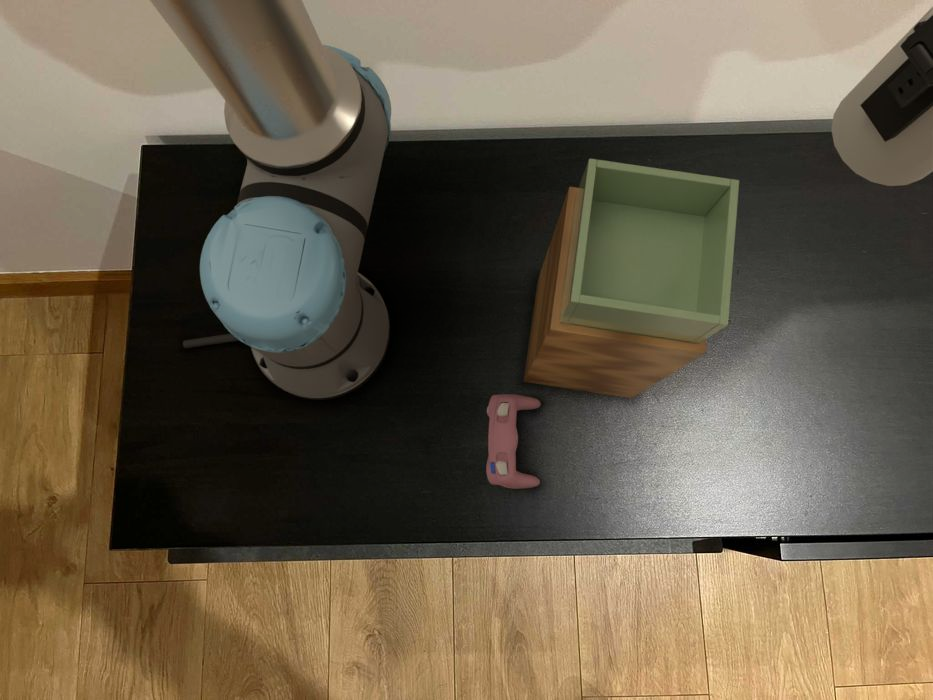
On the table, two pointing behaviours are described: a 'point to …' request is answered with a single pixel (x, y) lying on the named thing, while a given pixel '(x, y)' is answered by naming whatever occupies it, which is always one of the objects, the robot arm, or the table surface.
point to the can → (861, 145)
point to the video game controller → (507, 441)
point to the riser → (592, 338)
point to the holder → (650, 252)
